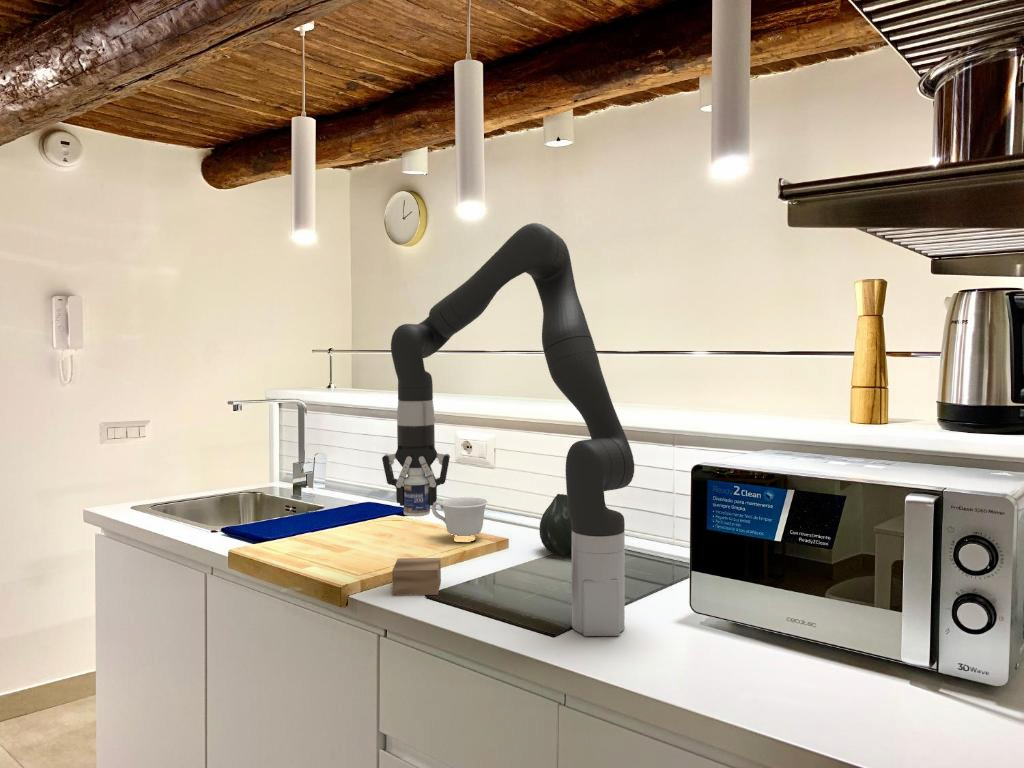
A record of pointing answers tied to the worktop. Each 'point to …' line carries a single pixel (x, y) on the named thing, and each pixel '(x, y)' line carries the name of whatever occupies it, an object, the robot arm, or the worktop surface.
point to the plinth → (416, 576)
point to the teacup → (462, 515)
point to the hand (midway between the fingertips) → (416, 504)
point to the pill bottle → (416, 493)
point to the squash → (557, 527)
